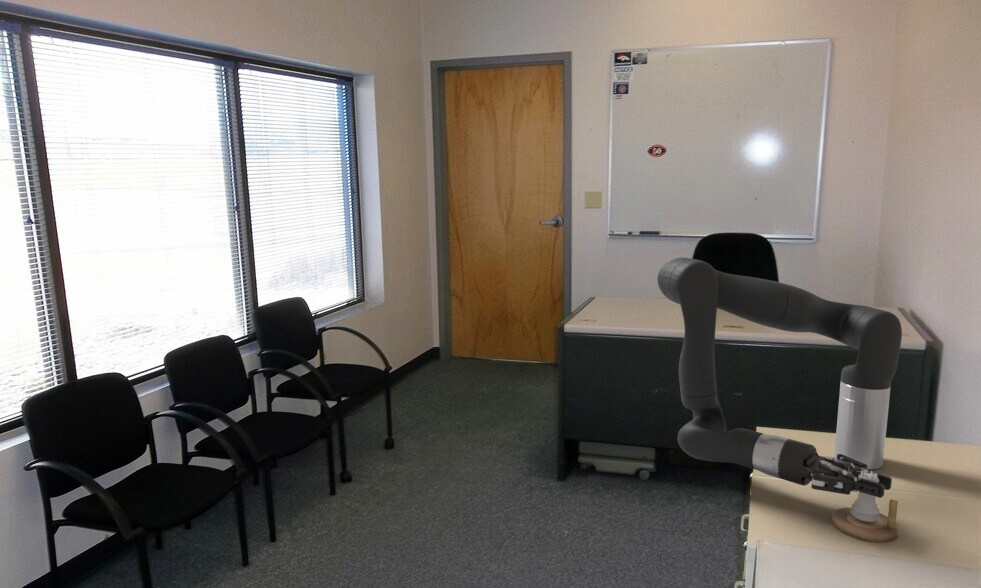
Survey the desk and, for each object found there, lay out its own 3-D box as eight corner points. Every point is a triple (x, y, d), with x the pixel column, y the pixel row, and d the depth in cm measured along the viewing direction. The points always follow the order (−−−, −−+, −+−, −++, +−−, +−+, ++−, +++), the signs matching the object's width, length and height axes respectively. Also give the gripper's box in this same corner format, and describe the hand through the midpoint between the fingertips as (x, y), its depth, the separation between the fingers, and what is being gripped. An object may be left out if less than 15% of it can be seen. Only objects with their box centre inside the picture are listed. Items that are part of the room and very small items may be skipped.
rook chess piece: (875, 512, 121) (880, 469, 120) (882, 525, 117) (887, 480, 115) (847, 509, 122) (851, 466, 121) (853, 521, 118) (857, 477, 116)
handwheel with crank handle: (843, 508, 127) (846, 476, 126) (905, 527, 120) (908, 493, 119) (823, 527, 120) (826, 493, 118) (888, 548, 113) (891, 513, 112)
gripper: (769, 449, 122) (876, 479, 111) (800, 429, 132) (901, 454, 121) (766, 489, 124) (872, 523, 112) (797, 466, 134) (897, 495, 122)
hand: (886, 487), depth 116 cm, fingers open, 3 cm apart
